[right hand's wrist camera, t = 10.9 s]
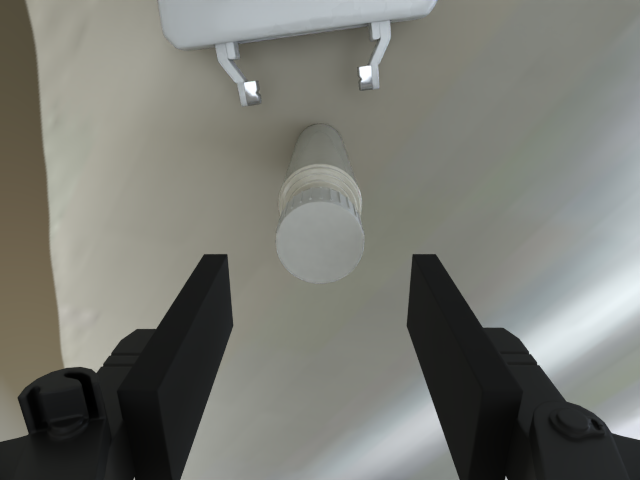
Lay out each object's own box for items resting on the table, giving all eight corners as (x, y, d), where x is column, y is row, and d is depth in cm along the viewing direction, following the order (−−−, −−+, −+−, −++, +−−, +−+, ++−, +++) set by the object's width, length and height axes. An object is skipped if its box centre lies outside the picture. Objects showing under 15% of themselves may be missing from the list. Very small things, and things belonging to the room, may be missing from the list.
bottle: (296, 123, 42) (265, 187, 18) (344, 124, 42) (376, 189, 18) (296, 171, 43) (267, 287, 20) (342, 172, 43) (369, 289, 20)
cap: (278, 185, 20) (273, 199, 18) (362, 186, 20) (368, 201, 18) (279, 262, 22) (275, 284, 19) (358, 263, 22) (363, 285, 19)
